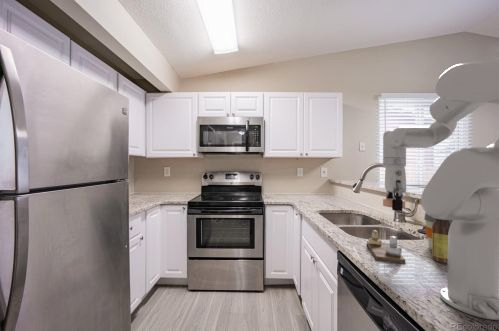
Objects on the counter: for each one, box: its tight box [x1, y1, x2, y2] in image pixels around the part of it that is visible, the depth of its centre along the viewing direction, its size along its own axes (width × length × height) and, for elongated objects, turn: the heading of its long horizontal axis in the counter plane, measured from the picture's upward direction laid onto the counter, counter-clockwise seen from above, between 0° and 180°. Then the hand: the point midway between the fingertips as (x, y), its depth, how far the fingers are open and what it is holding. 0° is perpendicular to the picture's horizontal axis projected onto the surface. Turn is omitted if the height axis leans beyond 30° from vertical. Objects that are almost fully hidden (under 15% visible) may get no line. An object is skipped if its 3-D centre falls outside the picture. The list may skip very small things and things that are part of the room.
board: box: [366, 240, 406, 264], centre depth 94 cm, size 18×10×2 cm, turn 163°
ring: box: [382, 198, 406, 209], centre depth 88 cm, size 7×7×2 cm
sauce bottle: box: [431, 219, 450, 264], centre depth 87 cm, size 7×6×20 cm
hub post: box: [368, 229, 383, 246], centre depth 100 cm, size 5×5×6 cm
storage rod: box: [386, 235, 402, 258], centre depth 88 cm, size 5×5×7 cm
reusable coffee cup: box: [423, 212, 453, 250], centre depth 99 cm, size 13×13×15 cm
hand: (393, 208), depth 88 cm, fingers closed on ring, 7 cm apart
